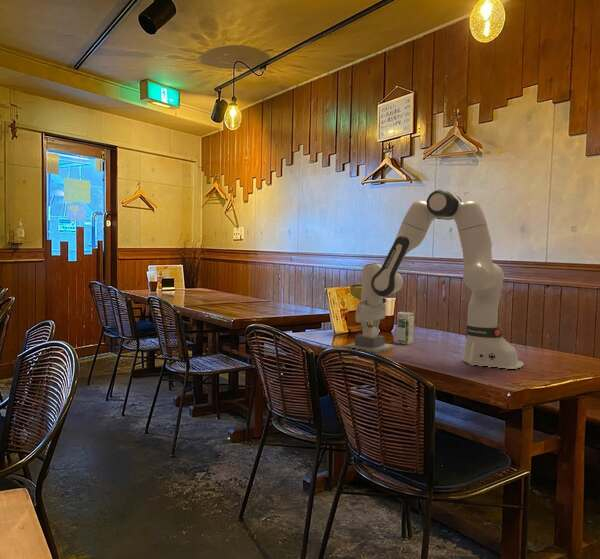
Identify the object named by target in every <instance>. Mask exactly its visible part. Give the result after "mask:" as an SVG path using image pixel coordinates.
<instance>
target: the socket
mask: <svg viewBox="0 0 600 559" xmlns="http://www.w3.org/2000/svg"><path fill="white" fill-rule="evenodd" d="M361 334H362V333H361ZM385 339H386V338H385V335H379V334H377V337H375V338H369V337H363V334H362V335H358V336H356V335H355V336H354V342H352V343H349V344H344V348H345V347H351V348H356V349H355V350H357V349H362V350H361V351H363V350H366V351H365V352H369V353H375V352H377V353H380V352H383V351H382V350H384V351H386V349H387V350H390V349H393V348H395V345H396V344H395V345H394V344H391V343H385V341H386V340H385ZM351 348H350V349H351ZM389 348H390V349H389ZM371 351H373V352H371ZM379 351H380V352H379Z"/></svg>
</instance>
